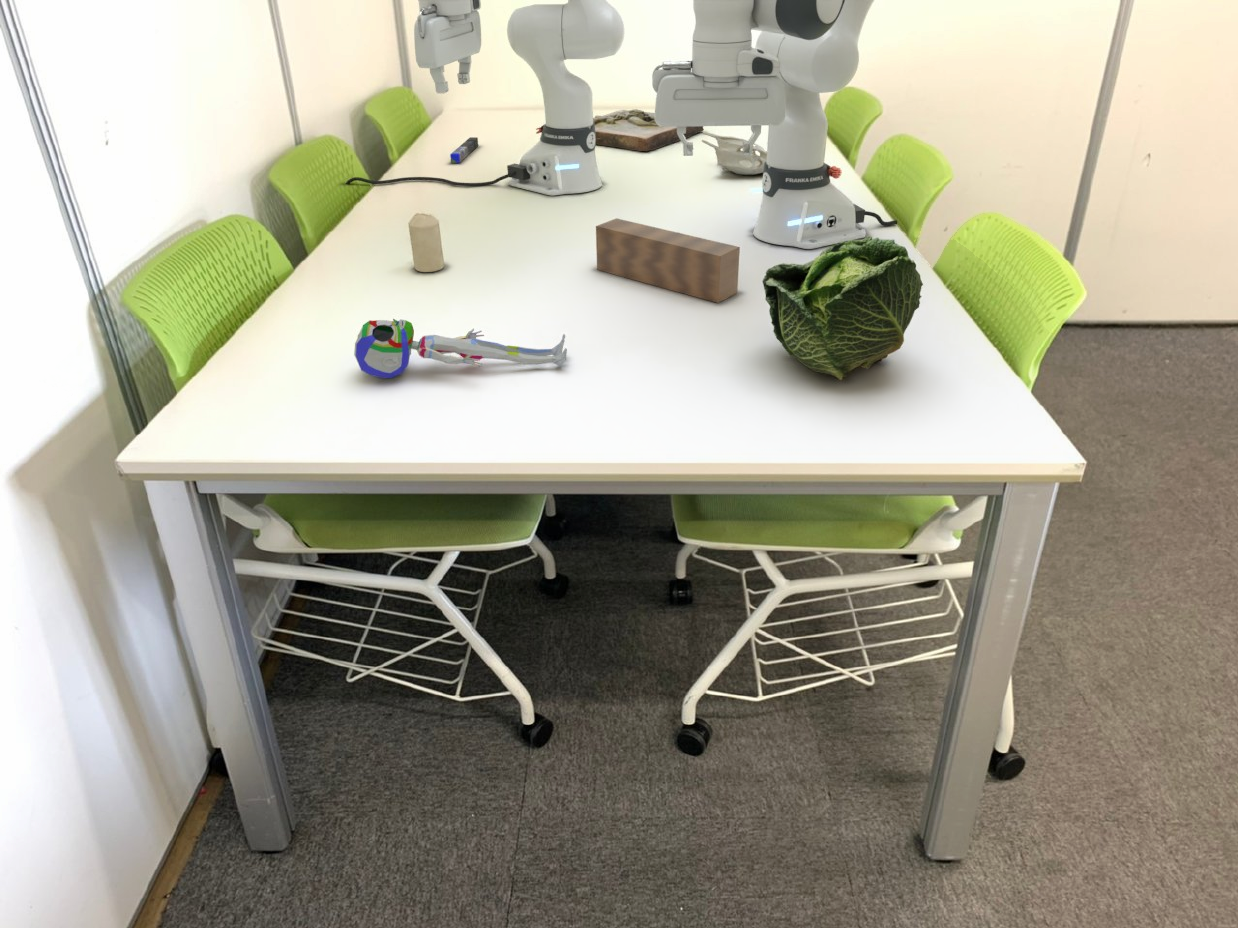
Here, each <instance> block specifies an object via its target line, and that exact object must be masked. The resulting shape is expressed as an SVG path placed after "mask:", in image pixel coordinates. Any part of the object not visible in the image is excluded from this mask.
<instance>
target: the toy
mask: <svg viewBox="0 0 1238 928" xmlns="http://www.w3.org/2000/svg"><path fill="white" fill-rule="evenodd" d="M474 331H475V328H472V329H471V330H469V331H468V332H467V333H466V334H465V335H463V336H458V337H449V336H448V337H447V336H442V335H439V334H428V335H423V336H421V338H420V339H419V341H417V340H414V336H415V329H414V326H413V324H412V322H410V321H408V320H407V319H399V320H397V319H395V318H392V320H387V319H379V320H368V321H367V322H365V323H364V324H362V326H361V329H360V331H359V333H358V334H357V338H356V340H355V342H354V354H353V355H354V357H355V359H356V362H357V364H358V366H359V369H360V370H361V372H364V373H366V374H367V375H370V376H373V377H377V378H382V379H383V378H384V379H392V378H394V377H396V376H398V375H400V374H401V375H402V374H403V372H404V371H405V370H406V368H407V367H408V366H409V364H410V357H411V355H412V350H415V351H417V353H418V356H419V357H421V358H422V359H430V360H434V361H438V362H442V363H444V364H449V365H458V364H459V365H461V364H465V365H471V366H477V367H479V368H480V367H481V366H482V365H483V363H482V362H478V361H480V360H482V359H487V360H488V359H489V360H503V361H509V362H514V363H517V364H520V365H528V366H529V365H542V364H550V363H553V364H555V365H557V366H559V367H562V366H563V364H564V362H565V361H566V360H567V357H568V355H567V353H568V348H566V347H565V348H564V345H565V340H566V334H565V333H563V334H562V338H561V340H560V341H559V343H558V344H556V345H555V346H554V347H552V348H533V347H532V348H531V347H523V346H518V345H517V346H516V345H504V344H501V343H498V342H494V341H488V340H482V339H478V338H479V337H480V338H481V337H485V334H480V333H482V332H483V331H482V330H479V331H476V332H474ZM563 349H564V350H563ZM453 353H455V354H457V355H459V357H458V356H455V355H448V354H453ZM445 354H447V355H445Z"/></svg>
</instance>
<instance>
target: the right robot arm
mask: <svg viewBox="0 0 1238 928" xmlns="http://www.w3.org/2000/svg"><path fill="white" fill-rule="evenodd" d="M692 2H693V3H692V8H693V12H694V17H695V18H694V19H695V24H694V30H693V33H692V45H691V46H692V47H691V60H680V61H671V60H670V61H663V62H662V64H659V65H657V66H656V67H655V68H654V69H653V71H652V85H651V86H652V88H653V91H654V92H655V93H656V95H655V103H654V104H655V105H654V113H655V122H656V123H657V124H658V126H660V127H677V135H678V136H679V138H680V142H681V143H682V145H683V146H682V148H683V149H682V150H683V152H682V155H683V156H684V157H692V156H694V155H693V154H694V151H693V150H694V143H693V142H694V141H693V142H692V141H688V140H687V138H685V136H684V134H685V133H686V127H688V126H703V127H746V126H747V127H748V126H750V130H751V133H752V134H751V135H750V137H749V139H747V141H746V142H743V149H742V151H743V155H752V154H753V146H754V143H755V144H756V141H757V140H758V138H759V137H760V135H761V134H762V126H768V129H767V131H768V132H767V147H766V148H767V149H766V151H767V161H766V162H765V163H764V171H763V173H762V184H761V185H762V187H761V188H759V187H758V188H750V193H751V194H753V193H762V197H761V204H760V209H759V213H758V217H757V220H756V223H755V226H754V229H753V231H752V234H753V236H754V237H755V238H756V239H758V240H759V241H762V242H765V243H768V244H772V245H778V246H785V247H787V246H788V247H795V248H800V249H805V250H813V249H817V248H822V247H827V246H831V245H832V246H833V245H835V244H837V243H838V242H844V241H848V240H860V239H865V238H866V235H867V232H866V229H865V227H864V226H863V225H861V224H862V223H865V216H869V217H872V218H875V219H876V220H877V222H878V223H879V224H880V225H881V226H884V227H890V226H892V225H893V226H894V225H897V224H898V220H896V219H895V220H894V219H893V220H890V221H885V220H883V218H882V217H881V216H880V215H879V214H877V213H876V212H874V211H873V212H872V211H867V210H866V209H864V208H862V207H860V206H859V205H858V204H855V203H853V201H852V200H851V199H850V198H849V197H848V196H847V195H846V194H844V193H843V192H842V191H841V190H840V189H839V188H838V187H836V186H835V185H834V184H833V183H832V182H831V177H832V178H833V179H839V178H840V177H841V176H842V169H841V168H840V167H837V166H836V165H833V166H831V165H829V164H827V163H825V156H826V148H827V137H828V128H829V123H828V119H827V115H826V113H825V111H824V109H823V105H822V101H821V95H820V94H827V93H834V92H838V91H841V90H842V89H843V88H845V87H847V86H848V85H849V84H850V83H851V81H852V80H853V79H854V77H855V76H856V73H857V71H858V67H859V64H860V63H859V62H860V52H859V46H858V45H859V39H860V36H861V32H862V29H863V26H864V24H865V20H866V19H867V15H868V13H869V12H870V9H871V7H872V5H873V3H874V2H875V0H692ZM752 31H758V32H759V31H760V33H759V35H758V37H757V39H756V43H755V46H754V47H755V48H754V47H753V46H752V41H753V36H752V35H753V34H752Z"/></svg>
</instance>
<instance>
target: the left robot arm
mask: <svg viewBox="0 0 1238 928" xmlns="http://www.w3.org/2000/svg"><path fill="white" fill-rule="evenodd" d="M417 1H418V10H419V12H418V15H417V17H416V20H415V22H414V25H413V27H414V28H413V36H414V37H413V41H414V54H415V55H414V56H415V61H416V64H417V66H418V68H420V69H429V73H430V76H431V79H432V80H433V83H434V87H435V92H436V93H437V94H446V93H448V92H449V81H448V80H447V81H446V78H445V74H444V73H445V66H446V65H449V64H452V63H455V62H457V63H458V73H456V75H457V82H458V84H459V85H467V84H469V83H470V82H471V76H470V75H471V74H470V72H471V67H472V56H474V55H477V54H479V53H480V51H481V48H482V27H481V26H482V24H481V16H480V13H479V10H480V9H481V8H482V3H481V0H417ZM624 24H625V23H624V22H623V18H622V16H621V14H620V13H619V12H618V10H617V9H616V8H615V7H614V6H612V5H611V3H609V2H608V1H607V0H567V3H554V4H553V3H552V4H549V3H547V4H545V3H543V4H542V3H541V4H539V3H538V4H532V5H526V6H522V7H519V8H518V7H517V8H515V9H514V10H513V12H512V13H511V15H510V16H509V19H508V22H507V28H506V35H507V40H508V43H509V46H510V47H511V49H512V51H513V52H514V53H515V54H516V55H517V57H519V58H520V59H522V60H523V61H524V62H525V63H526V64H527V65H528V66H529V67H530V69H531V70H532V72H534V75H535V77H536V78H537V80H538V83H539V85H540V89H541V93H542V99H543V107H544V118H545V119H544V120H545V121H544V122H545V123H544V124H543V125H541V126H540V127H537V128H535V130H536V132H535V133H536V134H540V138H539V141H538V142H536V143H535V144H534V145H533V146H532V147H530V149H529V150H527V151H526V152H525V153H524V154H523V155H522V156H521V157H520V158H519V159H520V160H519V163H511V164H508V165H507V166H506V169H507V173H506V174H505V175H502V176H499V177H497V178H496V179H494V180H490V181H484V182H483V181H482V182H459V181H458V182H457V181H453V180H449V179H447V178H442V177H433V176H407V177H398V178H391V179H385V180H371V179H367V178H364V177H359V176H355V177H351V178H349V179H348V180H347V181H346V182H345V185H350V184H351V183H353V182H355V181H357V182H363V183H367V184H372V185H386V184H393V183H399V182H407V181H429V182H430V181H431V182H441V183H445V184H448V185H453V186H457V187H459V186H460V187H486V186H491V185H496V184H497V183H499V182H500V181H502V180H506V179H508V178H510V180H509V186H511V187H514V188H517V189H518V188H519V189H523V190H527V191H531V192H535V193H539V194H543V195H545V196H559V195H568V194H569V195H570V194H582V193H588V192H592V191H595V190H598V189H600V188H601V187H602V186H603V183H602V180H601V178H600V177H601V176H600V173H599V168H598V163H597V156H596V145H597V144H596V133H595V124H594V123H593V118H594V102H593V101H594V100H593V99H594V98H593V90H592V88H591V86H590V85H589V83H588V82H587V81H586V80H584V79H583V78H581V77H580V76H578V75H575V74H573V73H572V72H571V71H570V70H569V69H568V68H567V66H566V63H565V61H566V60H599V59H603V58H607V57H612V56H615V55H616V54H617V53H618V52H619V50H620V49H621V47H622V45H623V42H624V39H625V25H624Z"/></svg>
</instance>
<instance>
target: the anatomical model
mask: <svg viewBox="0 0 1238 928" xmlns="http://www.w3.org/2000/svg"><path fill="white" fill-rule="evenodd" d="M702 135H704V136H708V137H711V138H714V139H715V140H716V142H717V145H715V144H713V143H712V142H709V141H708V140H705V139H701V142H702V143H703V144H706V145H708V146H709V147H711V148H713V149H714V152H715V155H716V160H717V164H716V165H717V166H721V167H722V170H724V171H727V172H729V171H730V172H733V173H735V174H736V175H744V176H747V175H750V176H751V175H752V176H753V175H759V174H763V171H764V163H765V162H766V161H767V150H766V149H764V148H763V147H762V146H761V145H759V144H757V143H756V142H755V143H754V144H753V154H752V155H743V142H746V141H748V139H744V138H739V137H736V136H730V135H729V136H727V135H726V136H725V135H719V134H715V133H711V132H707V131H702ZM756 152H758V153H759V155H758V154H756Z"/></svg>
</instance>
